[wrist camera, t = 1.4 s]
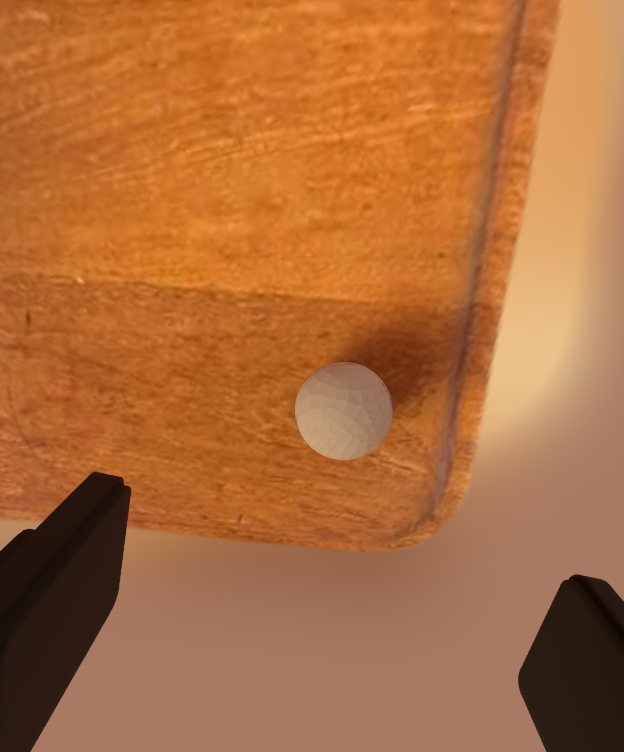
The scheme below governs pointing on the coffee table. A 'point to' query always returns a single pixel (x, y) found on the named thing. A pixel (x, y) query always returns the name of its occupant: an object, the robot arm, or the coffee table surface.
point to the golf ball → (343, 410)
